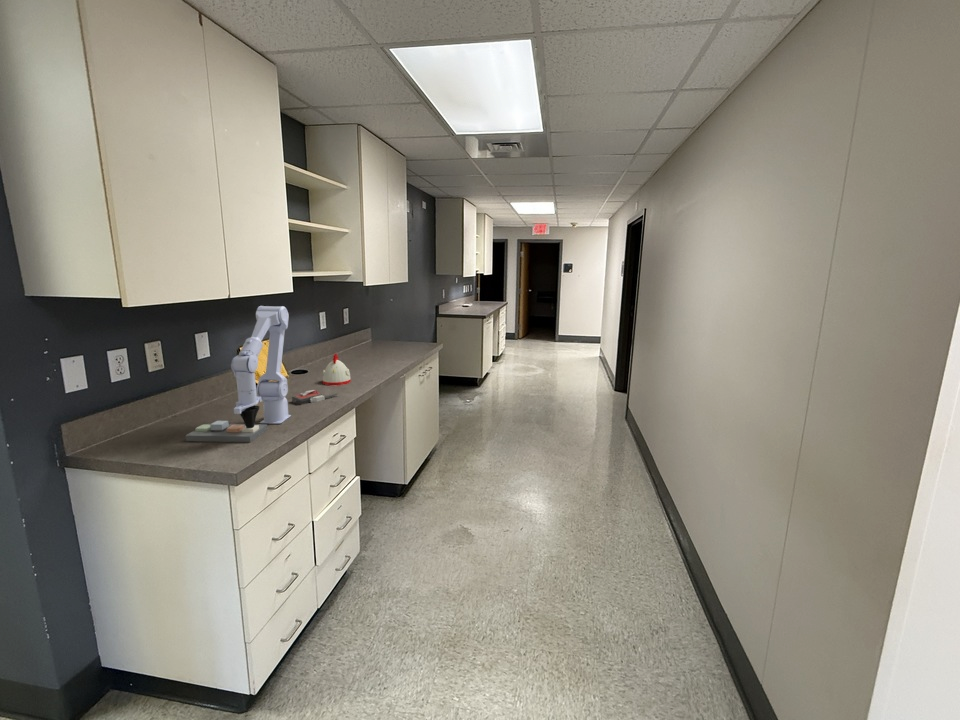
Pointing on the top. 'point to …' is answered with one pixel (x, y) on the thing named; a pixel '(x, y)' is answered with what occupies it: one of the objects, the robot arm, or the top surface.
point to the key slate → (219, 426)
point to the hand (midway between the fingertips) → (250, 427)
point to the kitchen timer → (336, 373)
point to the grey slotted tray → (226, 435)
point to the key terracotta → (235, 428)
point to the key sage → (203, 428)
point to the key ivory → (250, 429)
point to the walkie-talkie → (310, 397)
